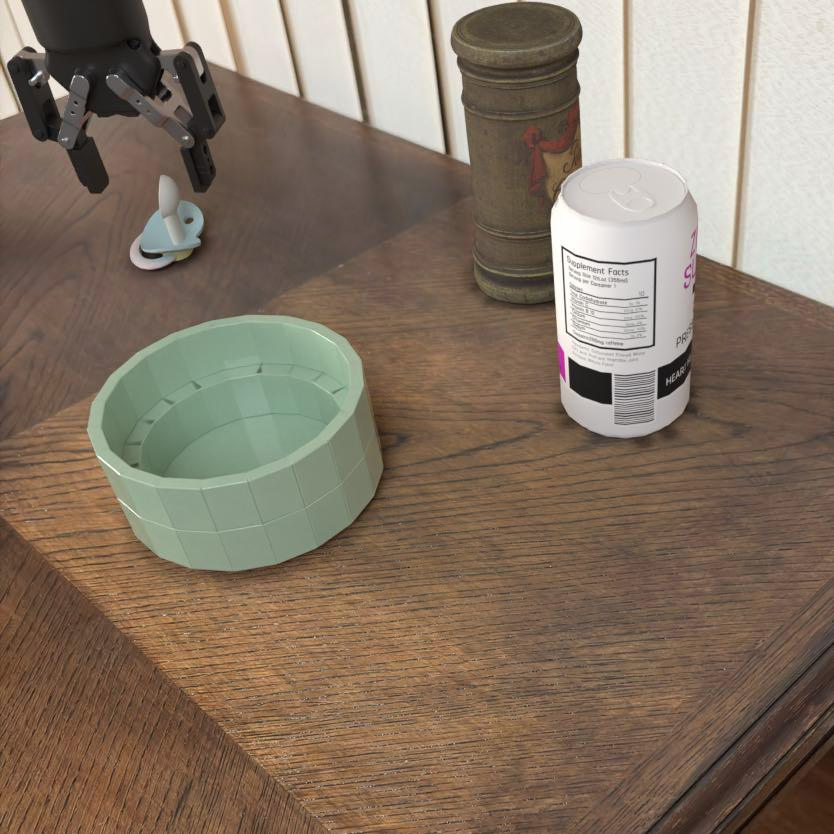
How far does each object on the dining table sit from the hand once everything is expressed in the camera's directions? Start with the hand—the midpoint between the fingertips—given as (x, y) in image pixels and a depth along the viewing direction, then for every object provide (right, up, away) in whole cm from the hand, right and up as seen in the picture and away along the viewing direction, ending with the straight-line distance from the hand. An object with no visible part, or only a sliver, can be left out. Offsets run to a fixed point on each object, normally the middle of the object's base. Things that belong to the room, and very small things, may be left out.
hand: (151, 188), depth 82 cm
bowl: (+12, -23, -16) cm, 31 cm away
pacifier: (0, -4, +4) cm, 6 cm away
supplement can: (+35, -18, -13) cm, 42 cm away
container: (+29, -7, -1) cm, 30 cm away
